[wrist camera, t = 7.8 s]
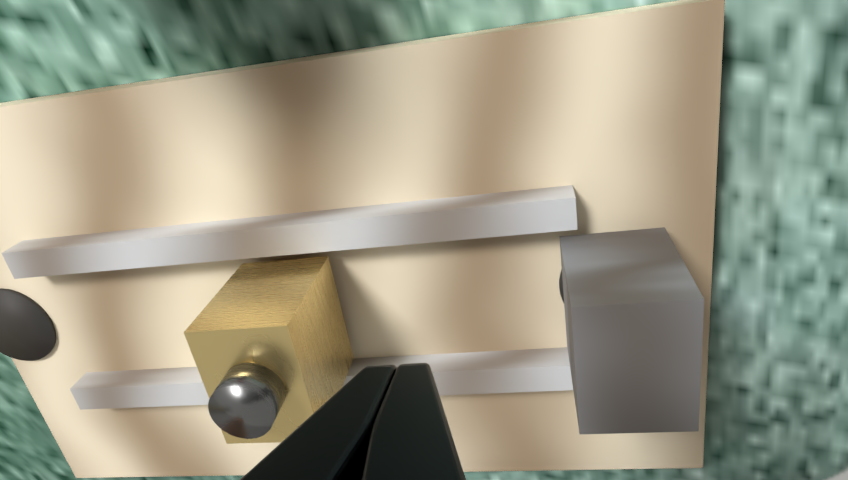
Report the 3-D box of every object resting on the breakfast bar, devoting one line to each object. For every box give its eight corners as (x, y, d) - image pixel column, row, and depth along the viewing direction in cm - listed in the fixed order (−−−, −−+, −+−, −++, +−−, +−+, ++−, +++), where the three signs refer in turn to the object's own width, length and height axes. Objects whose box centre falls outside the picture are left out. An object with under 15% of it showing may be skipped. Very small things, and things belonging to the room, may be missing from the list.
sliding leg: (330, 251, 20) (273, 348, 15) (355, 352, 21) (311, 467, 17) (245, 259, 20) (164, 354, 15) (276, 356, 22) (211, 469, 17)
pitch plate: (713, -5, 16) (801, 16, 11) (695, 447, 23) (745, 585, 18) (-102, 118, 21) (-290, 170, 16) (78, 460, 28) (-15, 571, 23)
